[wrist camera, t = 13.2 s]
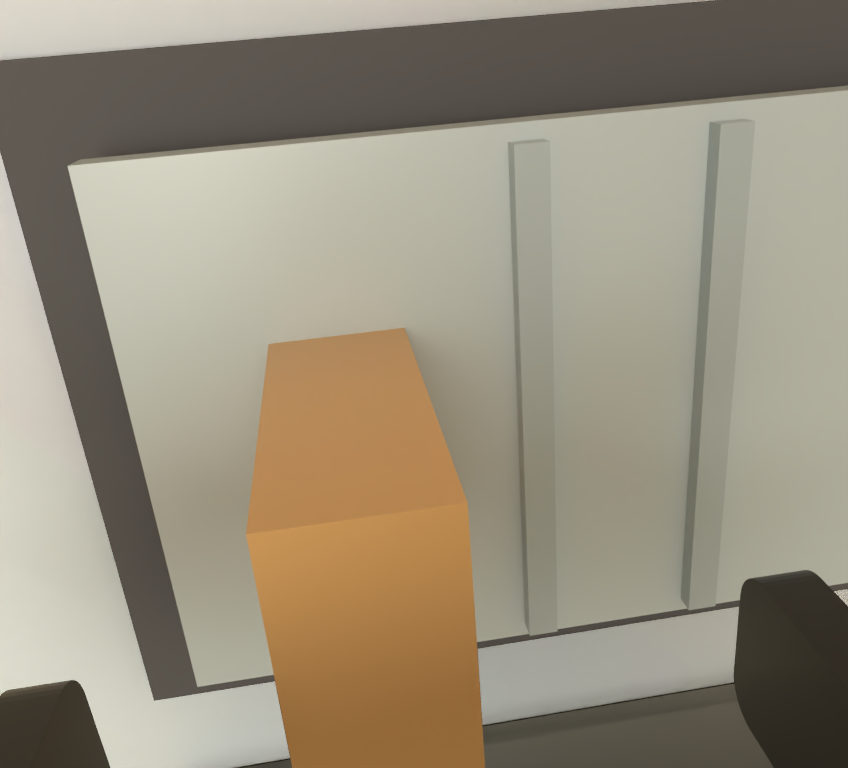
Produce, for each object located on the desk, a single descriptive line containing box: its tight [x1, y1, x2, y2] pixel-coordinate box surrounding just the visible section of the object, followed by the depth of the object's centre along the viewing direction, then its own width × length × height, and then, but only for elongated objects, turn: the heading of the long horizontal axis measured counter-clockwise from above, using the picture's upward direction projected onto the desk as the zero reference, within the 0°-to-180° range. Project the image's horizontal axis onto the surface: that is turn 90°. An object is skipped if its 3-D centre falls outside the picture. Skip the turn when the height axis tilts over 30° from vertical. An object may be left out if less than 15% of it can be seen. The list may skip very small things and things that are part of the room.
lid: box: [68, 86, 848, 768], centre depth 13 cm, size 17×11×8 cm, turn 95°
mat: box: [0, 0, 848, 701], centre depth 17 cm, size 20×14×1 cm
